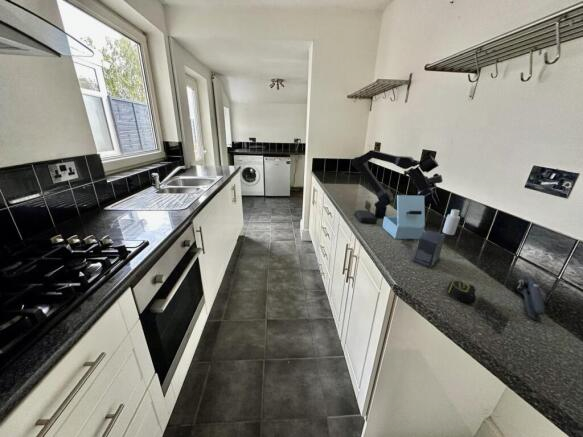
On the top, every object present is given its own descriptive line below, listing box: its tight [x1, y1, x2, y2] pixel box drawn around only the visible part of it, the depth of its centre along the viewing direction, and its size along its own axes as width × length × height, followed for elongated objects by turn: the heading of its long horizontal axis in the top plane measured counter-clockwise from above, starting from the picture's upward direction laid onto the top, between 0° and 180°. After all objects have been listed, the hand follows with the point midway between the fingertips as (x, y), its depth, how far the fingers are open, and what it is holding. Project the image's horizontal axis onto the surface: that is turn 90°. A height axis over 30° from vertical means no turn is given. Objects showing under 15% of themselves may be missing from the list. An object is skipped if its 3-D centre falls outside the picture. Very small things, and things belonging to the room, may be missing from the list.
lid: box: [396, 194, 426, 228], centre depth 103 cm, size 14×13×4 cm
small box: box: [413, 229, 446, 269], centre depth 88 cm, size 11×6×10 cm, turn 135°
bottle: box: [442, 208, 461, 236], centre depth 113 cm, size 5×5×12 cm
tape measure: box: [447, 280, 477, 305], centre depth 70 cm, size 7×7×4 cm
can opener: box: [515, 276, 547, 321], centre depth 67 cm, size 18×7×6 cm, turn 140°
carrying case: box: [353, 209, 378, 224], centre depth 128 cm, size 11×3×15 cm
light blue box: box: [382, 216, 425, 240], centre depth 112 cm, size 14×13×6 cm
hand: (437, 203), depth 114 cm, fingers open, 9 cm apart
